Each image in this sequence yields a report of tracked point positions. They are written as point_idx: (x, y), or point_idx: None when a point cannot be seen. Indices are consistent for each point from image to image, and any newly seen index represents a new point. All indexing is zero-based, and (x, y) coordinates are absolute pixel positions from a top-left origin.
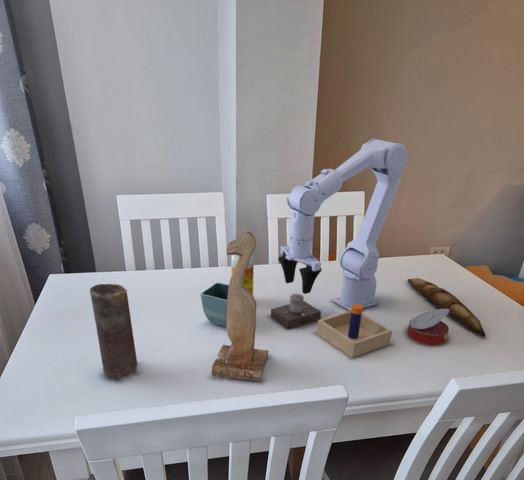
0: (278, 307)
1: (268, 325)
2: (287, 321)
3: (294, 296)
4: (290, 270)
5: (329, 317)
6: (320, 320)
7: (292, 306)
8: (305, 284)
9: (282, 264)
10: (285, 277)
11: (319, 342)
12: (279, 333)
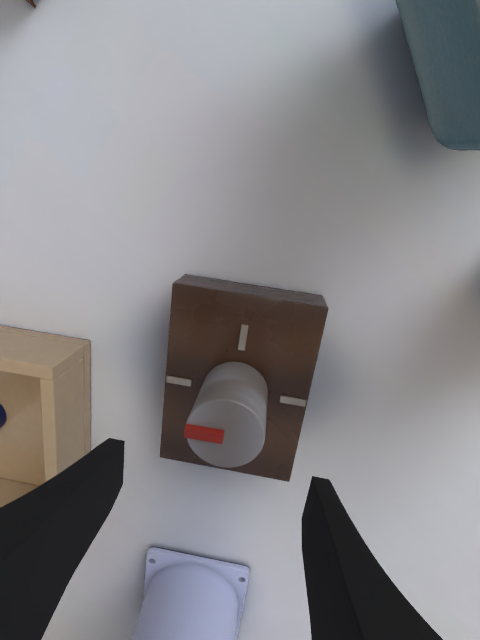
0: (313, 348)
1: (267, 229)
2: (179, 282)
3: (234, 426)
4: (323, 598)
5: (48, 422)
6: (44, 373)
7: (225, 375)
8: (44, 487)
9: (392, 627)
10: (330, 507)
11: (32, 299)
12: (177, 218)
